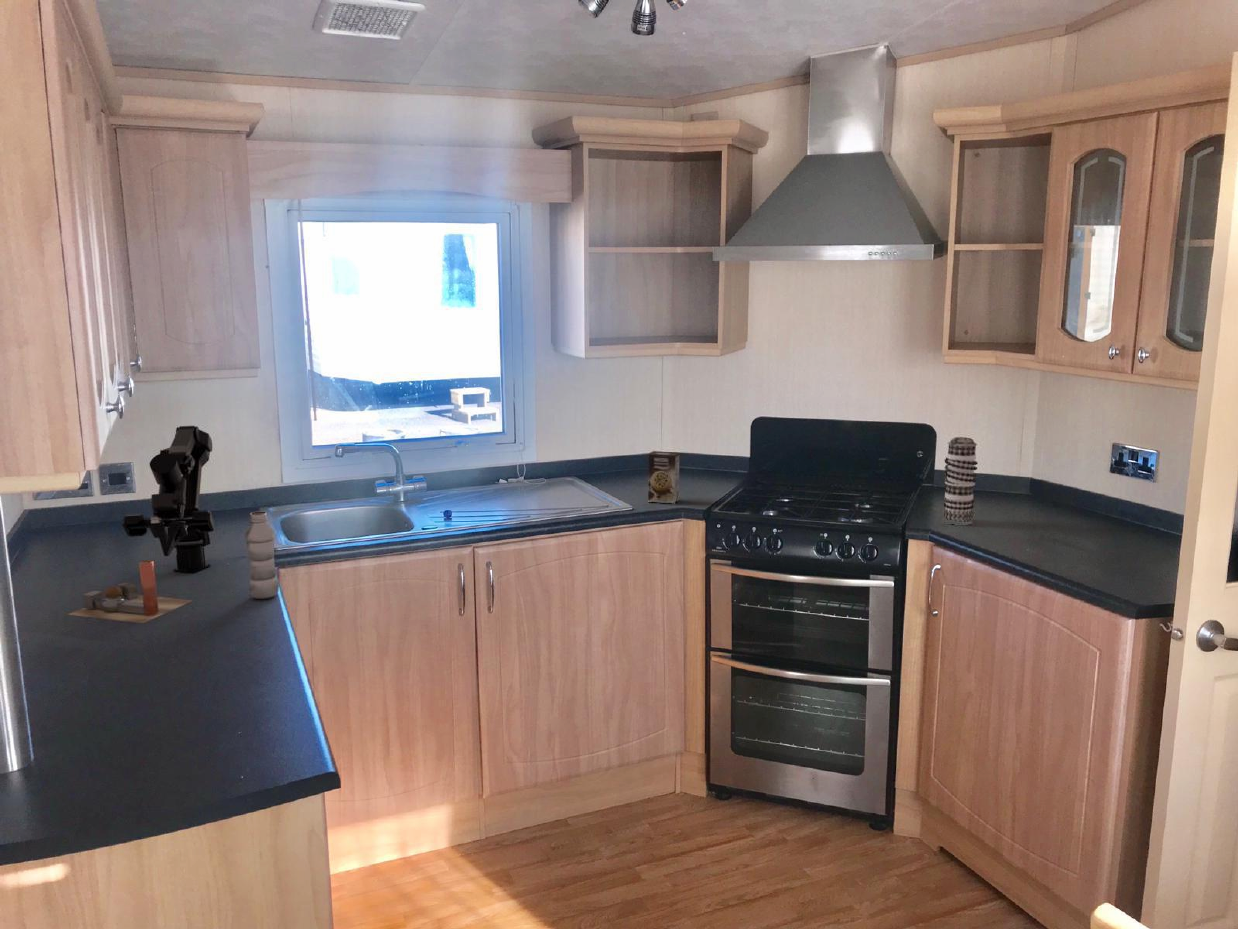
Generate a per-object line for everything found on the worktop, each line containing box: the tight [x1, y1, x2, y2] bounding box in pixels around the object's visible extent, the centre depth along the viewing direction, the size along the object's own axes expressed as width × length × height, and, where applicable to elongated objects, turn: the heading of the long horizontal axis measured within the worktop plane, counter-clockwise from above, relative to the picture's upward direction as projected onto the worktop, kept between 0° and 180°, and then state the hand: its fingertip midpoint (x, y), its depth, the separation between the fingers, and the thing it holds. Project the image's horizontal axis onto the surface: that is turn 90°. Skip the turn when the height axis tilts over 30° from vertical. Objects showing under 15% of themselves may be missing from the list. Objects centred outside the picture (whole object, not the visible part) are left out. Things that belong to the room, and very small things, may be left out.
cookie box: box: [647, 450, 681, 503], centre depth 317 cm, size 9×6×16 cm
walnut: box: [104, 585, 123, 599], centre depth 221 cm, size 4×4×4 cm
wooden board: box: [67, 582, 193, 624], centre depth 217 cm, size 15×20×4 cm
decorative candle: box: [942, 436, 978, 522], centre depth 287 cm, size 9×9×25 cm
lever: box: [82, 559, 159, 615], centre depth 214 cm, size 18×4×11 cm, turn 73°
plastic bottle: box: [244, 510, 280, 600], centre depth 226 cm, size 6×7×20 cm
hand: (166, 555), depth 223 cm, fingers closed
